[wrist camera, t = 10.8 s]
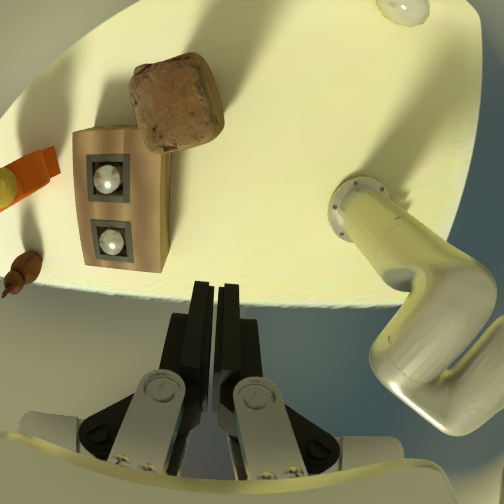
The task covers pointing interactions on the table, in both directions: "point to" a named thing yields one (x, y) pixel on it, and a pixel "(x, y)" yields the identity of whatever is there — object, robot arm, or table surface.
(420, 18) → the potion bottle
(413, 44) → the table surface
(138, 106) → the block
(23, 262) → the wooden figurine
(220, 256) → the table surface
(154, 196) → the socket block
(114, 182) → the peg
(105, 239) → the peg
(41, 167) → the alarm clock
